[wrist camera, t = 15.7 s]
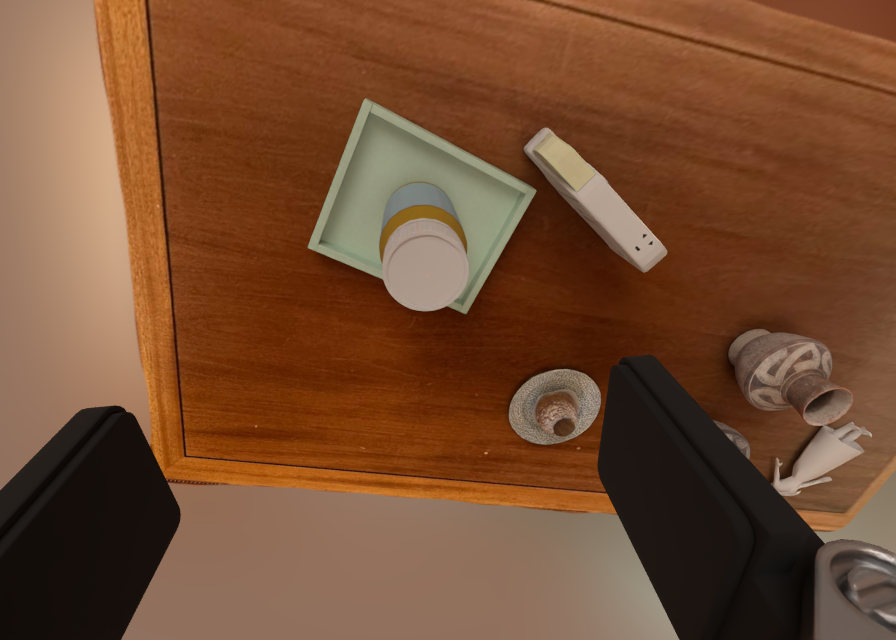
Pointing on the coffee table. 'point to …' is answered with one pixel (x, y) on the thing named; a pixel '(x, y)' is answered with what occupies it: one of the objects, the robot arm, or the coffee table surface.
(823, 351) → the pottery
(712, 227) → the coffee table surface
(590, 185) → the light grey boxy piece
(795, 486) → the woman figurine
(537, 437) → the pastry
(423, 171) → the tray
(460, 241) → the bottle
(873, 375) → the coffee table surface
